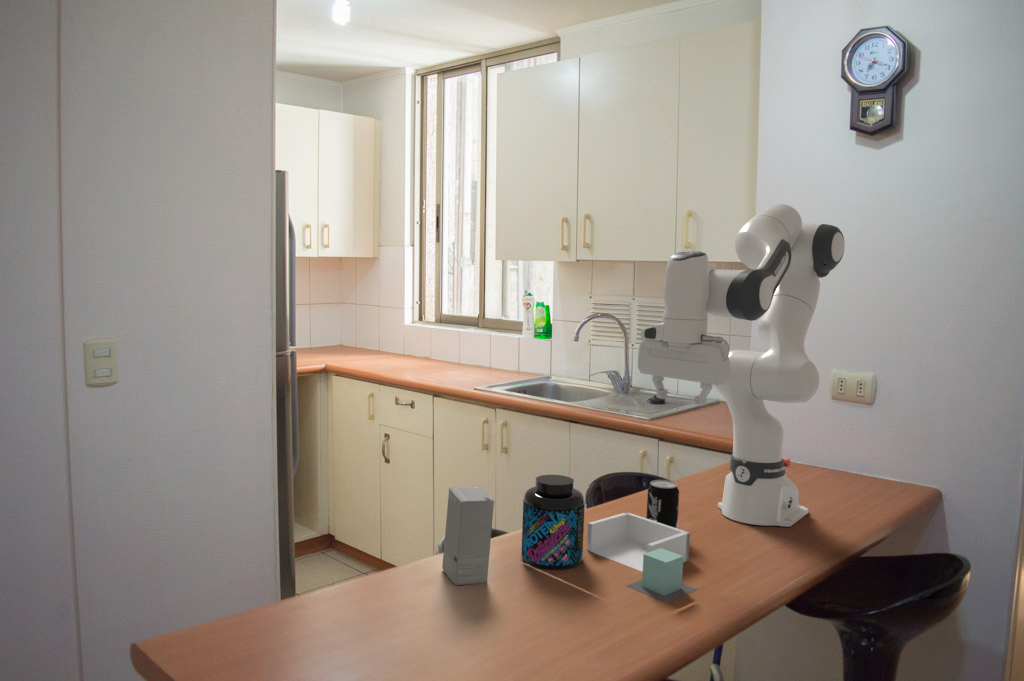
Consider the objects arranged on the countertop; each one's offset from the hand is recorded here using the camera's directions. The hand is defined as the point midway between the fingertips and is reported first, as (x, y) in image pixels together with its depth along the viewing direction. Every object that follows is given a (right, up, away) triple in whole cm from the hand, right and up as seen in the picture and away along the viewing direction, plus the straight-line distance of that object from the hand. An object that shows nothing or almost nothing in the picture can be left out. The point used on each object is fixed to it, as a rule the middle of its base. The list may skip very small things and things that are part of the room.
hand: (680, 401), depth 157 cm
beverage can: (-2, -30, +10) cm, 32 cm away
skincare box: (-42, -31, -14) cm, 54 cm away
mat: (-7, -32, -17) cm, 37 cm away
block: (-7, -32, -17) cm, 37 cm away
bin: (-9, -31, -2) cm, 32 cm away
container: (-26, -31, -5) cm, 41 cm away
